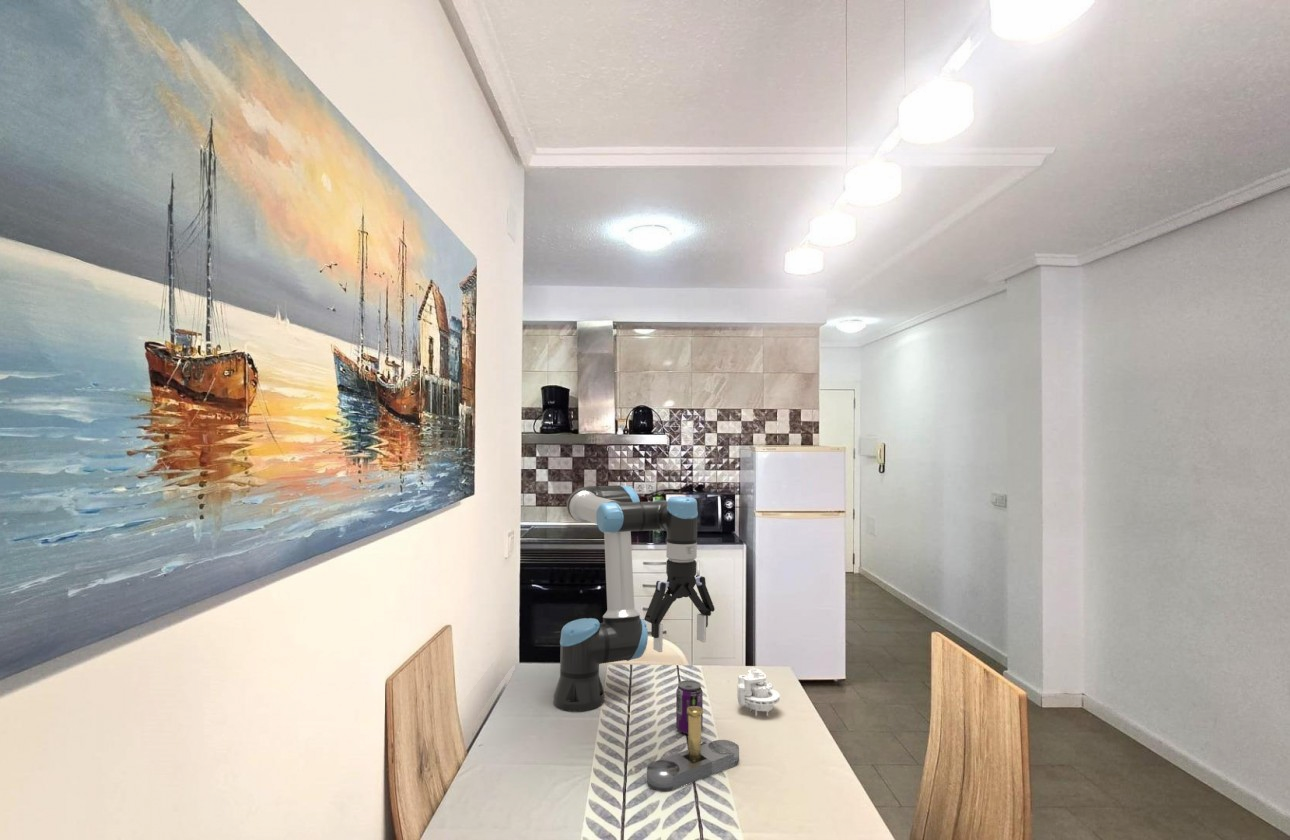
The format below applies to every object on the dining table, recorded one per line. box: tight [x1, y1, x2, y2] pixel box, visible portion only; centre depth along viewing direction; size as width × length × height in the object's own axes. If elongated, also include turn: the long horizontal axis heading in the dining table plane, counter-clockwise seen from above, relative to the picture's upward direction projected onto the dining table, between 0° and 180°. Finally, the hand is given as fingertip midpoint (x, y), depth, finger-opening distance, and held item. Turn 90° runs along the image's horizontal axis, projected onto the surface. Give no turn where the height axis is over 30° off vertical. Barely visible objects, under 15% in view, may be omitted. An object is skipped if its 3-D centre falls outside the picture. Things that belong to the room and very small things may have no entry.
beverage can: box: [675, 679, 704, 735], centre depth 159 cm, size 7×7×12 cm
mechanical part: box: [736, 667, 780, 717], centre depth 171 cm, size 11×12×12 cm
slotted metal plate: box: [646, 739, 740, 793], centre depth 138 cm, size 7×26×3 cm, turn 124°
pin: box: [687, 706, 704, 764], centre depth 138 cm, size 4×4×14 cm
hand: (680, 645), depth 146 cm, fingers open, 13 cm apart
